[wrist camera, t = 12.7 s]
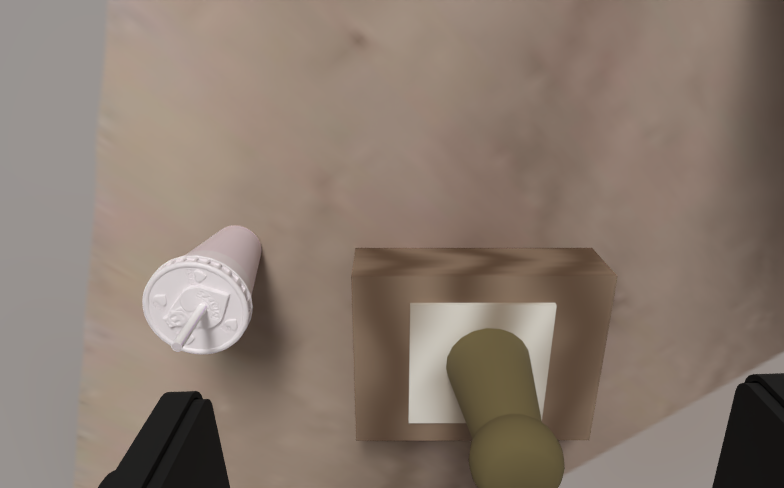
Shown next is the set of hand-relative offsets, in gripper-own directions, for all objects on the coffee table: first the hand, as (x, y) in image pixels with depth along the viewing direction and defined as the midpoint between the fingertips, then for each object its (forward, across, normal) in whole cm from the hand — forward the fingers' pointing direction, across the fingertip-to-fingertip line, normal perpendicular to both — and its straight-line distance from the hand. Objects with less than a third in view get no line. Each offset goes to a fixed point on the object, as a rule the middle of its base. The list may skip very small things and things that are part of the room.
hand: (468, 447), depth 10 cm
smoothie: (+30, +14, +8) cm, 35 cm away
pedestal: (+31, -4, +16) cm, 35 cm away
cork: (+25, -4, +16) cm, 30 cm away
